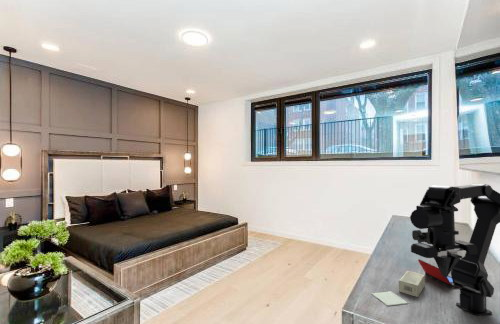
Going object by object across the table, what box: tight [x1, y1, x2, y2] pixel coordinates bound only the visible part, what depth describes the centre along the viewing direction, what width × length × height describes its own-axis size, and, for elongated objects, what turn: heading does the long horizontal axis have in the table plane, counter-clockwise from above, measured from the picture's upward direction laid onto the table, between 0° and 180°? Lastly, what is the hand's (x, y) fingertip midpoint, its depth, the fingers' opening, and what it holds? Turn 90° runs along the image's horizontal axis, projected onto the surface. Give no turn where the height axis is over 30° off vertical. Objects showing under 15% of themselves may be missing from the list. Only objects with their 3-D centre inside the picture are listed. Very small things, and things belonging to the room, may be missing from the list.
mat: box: [371, 290, 409, 307], centre depth 87 cm, size 8×8×1 cm
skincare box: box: [398, 270, 426, 298], centre depth 94 cm, size 6×4×12 cm
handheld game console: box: [417, 259, 460, 289], centre depth 101 cm, size 12×11×7 cm
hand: (444, 276), depth 76 cm, fingers closed
